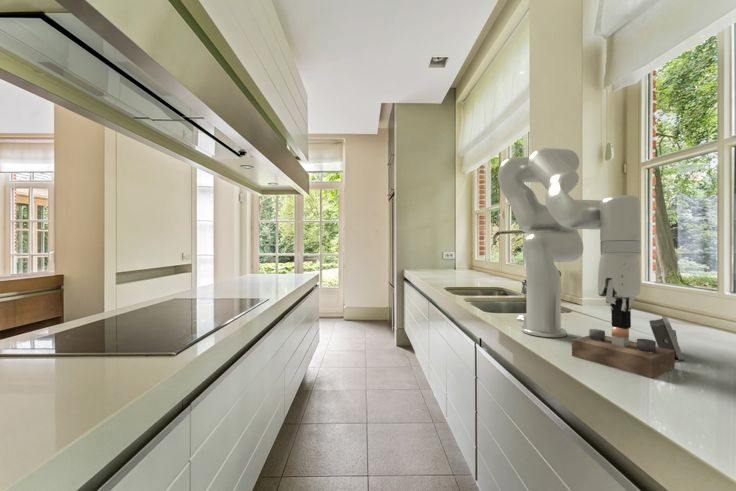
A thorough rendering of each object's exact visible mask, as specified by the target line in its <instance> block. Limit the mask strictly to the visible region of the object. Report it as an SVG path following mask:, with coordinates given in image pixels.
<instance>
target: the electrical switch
mask: <svg viewBox="0 0 736 491" xmlns="http://www.w3.org/2000/svg"><path fill="white" fill-rule="evenodd" d="M648 322H649V326H650V328H651V331H652V333H653V336H654V339H655V342H656V346H657V347H661V348H665V349H670V350H675V358H677V360H678V361H684V357H683V354H682V351H681V348H680V346H679V341H678V336H677V331H676V329H673V327H672V325H671V322H670V321H669V318H668V317H667V315H661V318H660V319H653V320H649V321H648Z"/></svg>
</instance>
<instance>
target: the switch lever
mask: <svg viewBox="0 0 736 491" xmlns="http://www.w3.org/2000/svg"><path fill="white" fill-rule="evenodd" d="M588 330H589V331H588V334H589V335H588V336H589V339H590V340H595V341H599V342H602V341H605V336H606V331H605V330H602V329H599V328H597V329H596V328H589V329H588Z"/></svg>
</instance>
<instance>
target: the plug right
mask: <svg viewBox="0 0 736 491" xmlns="http://www.w3.org/2000/svg"><path fill="white" fill-rule="evenodd" d="M636 342H637V350H638V351H643V352H647V353H651V354H652V353H654V352H656V347H657V342H656V340H652V339H647V338H636Z"/></svg>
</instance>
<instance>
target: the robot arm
mask: <svg viewBox="0 0 736 491" xmlns="http://www.w3.org/2000/svg"><path fill="white" fill-rule="evenodd" d="M579 166H580V157H579V156H578V154H577V152H575V151H573V150H572V149H568V148H555V147H553V148H551V147H549V148H548V147H547V148H546V147H545V148H539V149H537V150H535V151H533V152H532V153H531V154H530V156H529V157H528V156H513V157H508V158H506V159H505V160H504V161H502V162H501V163H500V165H499V168H498V174H497V179H498V184H499V188H500V191H501V192H502V194H503V195H504V197H505V199H506V200H507V201H508V204H509V206H510V208H511V211H512V214H513V216H514V218H515V220H516V223H517V225H518V228H519V229H520V231H522V232H523V233H525V234H528V235H526V237H525V238H524V240H523V241H522V252H523V256H524V261H525V262H524V263H525V270H526V271H525V274H526V276H525V277H526V278H525V279H526V281H525V282H526V284H525V285H526V315H525V314H524V315H523V314H519V315H518V317H517V318H516V321H517V322H521V323H523V325H521V327H520V328H521V329H520V330H521V331H522V332H523V333H525V334H527V335H531V336H536V337H543V338H563V337H566V336H567V333H568V331H567V330H566V329H564V328H563V327H562V314H561V313H562V305H561V304H562V302H561V301H562V297H561V296H562V295H561V294H562V292H561V291H562V290H561V286H562V284H561V283H562V282H561V274H560V271H559V269H558V268H557V266H556V264H555V263H569V262H575V261H577V260H579V259H580V258H581V257H582V255H583V252H584V243H583V239H582V237H581V234H580V233H579V231H578V230H599V231H600V232H599V233H600V234H599V235H600V236H599V237H600V238H599V239H600V240H599V244H600V249H599V250H600V257H599V261H598V262H599V264H598V271H597V273H598V274H597V295H598V296H600V297H605V303H607V304H609V306H610V308H609V309H610V310H611V311H610V312H611V327H612V326H613V327H618V328H623V329H628V328H629V329H631V327H632V316H631V314H632V312H631V311H632V304H633V303H632V302H633V301H635V299H636V297H638V296H639V295H640V294H641V271H640V270H641V269H640V268H641V267H640V263H639V262H640V261H639V256H641V252H642V246H641V244H642V243H641V201H640V198H639V197H638V196H636V195H630V194H628V195H626V194H625V195H624V194H623V195H613V196H608V197H604V198H603V199H601V200H600V199H599V200H598V199H597V200H596V199H574V198H573V197H572V196H571V195H570V194H569V193H570V192H571V191H573V189H575V188H576V186H577V185H578V183H579V181H580V180H579V179H580V177H579V174H578V172H577V171H578V169H579ZM525 183H539V184H540V183H541V184H542V185H543V187H545V189H546V192H545V193H546V194H545V204H542V203H540V201H539V200H538V198H537V195H536V193H535V192H534V190H532V189H531V187H530V186H527V185H526V184H525Z"/></svg>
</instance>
